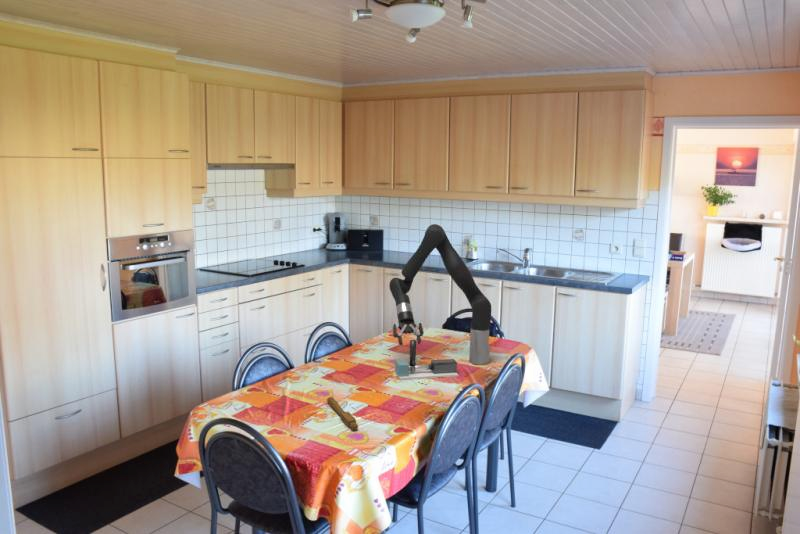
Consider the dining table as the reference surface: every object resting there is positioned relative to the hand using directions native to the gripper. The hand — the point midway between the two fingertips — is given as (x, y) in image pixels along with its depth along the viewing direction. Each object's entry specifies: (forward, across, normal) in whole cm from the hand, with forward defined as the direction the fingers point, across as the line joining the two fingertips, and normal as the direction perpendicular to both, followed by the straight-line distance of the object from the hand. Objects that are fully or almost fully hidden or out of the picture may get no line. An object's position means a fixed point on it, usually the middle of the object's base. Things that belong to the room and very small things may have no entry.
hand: (410, 343), depth 301 cm
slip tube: (+12, +3, +5) cm, 13 cm away
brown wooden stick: (+43, -39, -23) cm, 63 cm away
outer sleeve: (+13, +15, +6) cm, 21 cm away
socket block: (+13, -5, +6) cm, 15 cm away
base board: (+13, +7, +6) cm, 16 cm away
